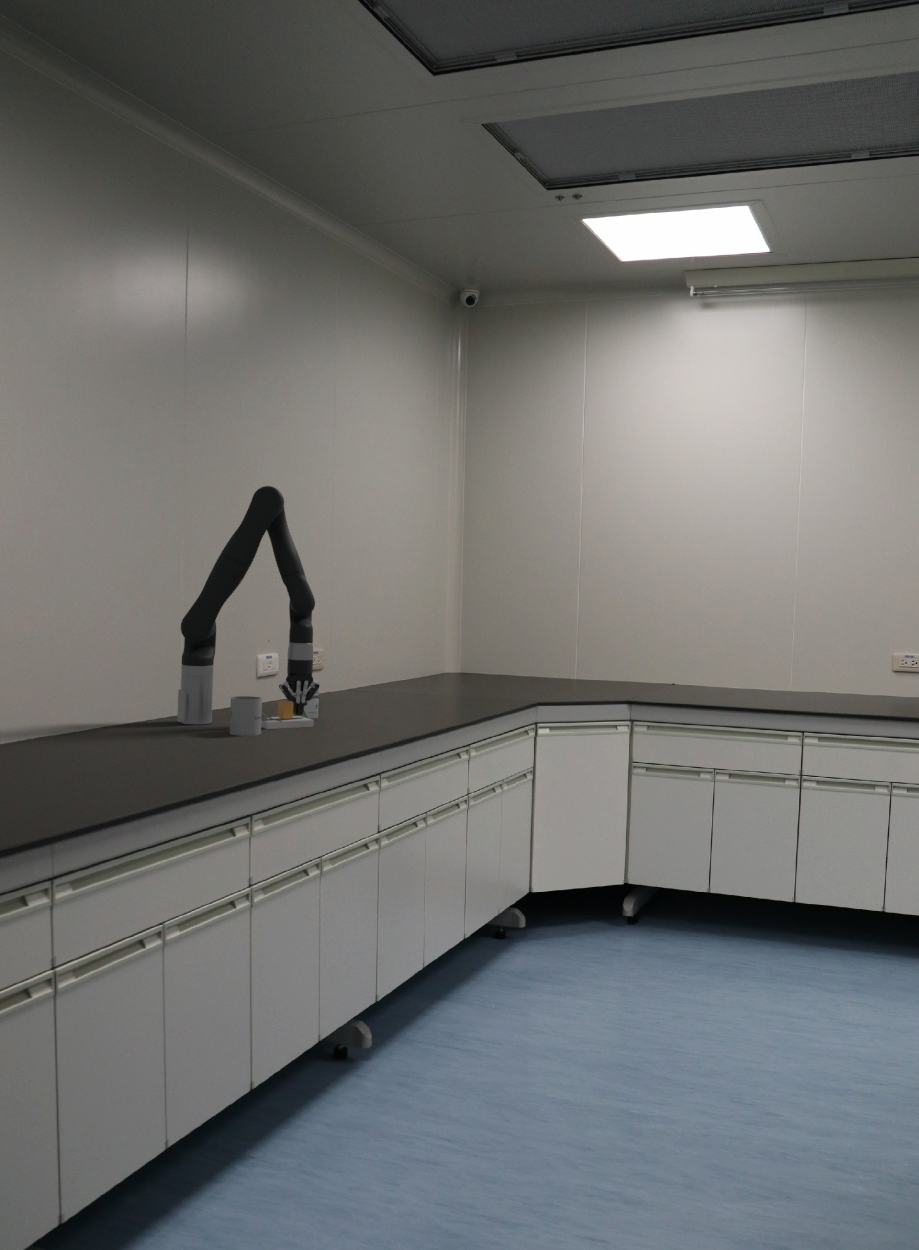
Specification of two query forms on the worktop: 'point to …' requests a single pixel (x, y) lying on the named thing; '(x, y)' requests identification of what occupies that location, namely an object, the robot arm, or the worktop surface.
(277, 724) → the console
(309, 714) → the ink box
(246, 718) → the mug
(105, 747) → the worktop surface
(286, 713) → the orange block
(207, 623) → the robot arm
